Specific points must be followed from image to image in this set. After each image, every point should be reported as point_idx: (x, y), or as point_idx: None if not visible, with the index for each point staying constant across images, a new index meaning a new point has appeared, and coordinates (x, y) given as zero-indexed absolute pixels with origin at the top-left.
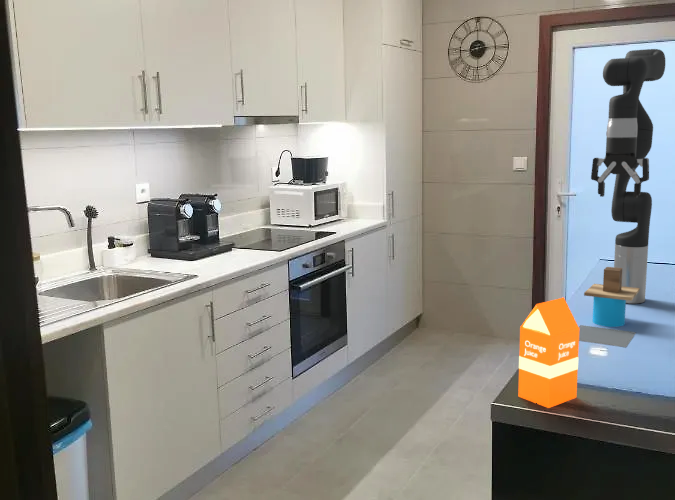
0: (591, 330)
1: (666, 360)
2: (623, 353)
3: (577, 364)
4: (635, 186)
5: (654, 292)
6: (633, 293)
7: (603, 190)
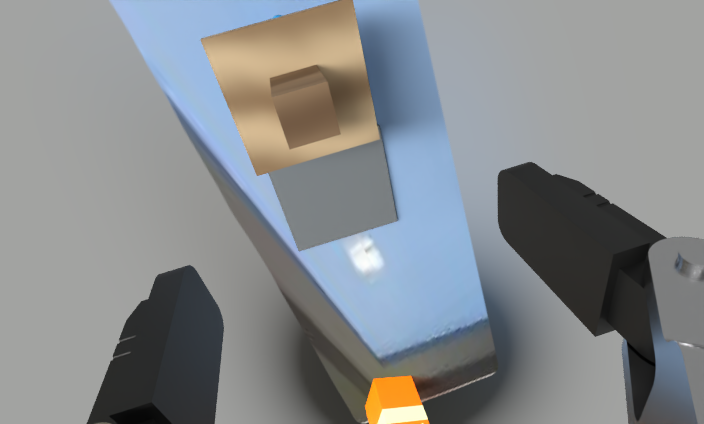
0: (303, 178)
1: (462, 223)
2: (400, 239)
3: (424, 411)
4: (584, 305)
5: None
6: (365, 89)
7: (204, 348)
